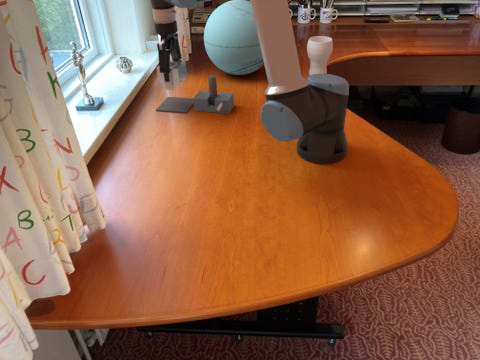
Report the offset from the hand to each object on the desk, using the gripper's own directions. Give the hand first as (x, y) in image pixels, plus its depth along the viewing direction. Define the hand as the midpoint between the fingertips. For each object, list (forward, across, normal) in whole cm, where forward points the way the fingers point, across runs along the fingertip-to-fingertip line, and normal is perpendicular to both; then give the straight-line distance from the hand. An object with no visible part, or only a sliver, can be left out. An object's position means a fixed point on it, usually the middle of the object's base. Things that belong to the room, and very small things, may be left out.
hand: (173, 84), depth 148 cm
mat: (+8, 0, 0) cm, 8 cm away
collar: (-2, 0, 0) cm, 2 cm away
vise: (+8, -2, -15) cm, 17 cm away
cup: (+8, +40, -50) cm, 65 cm away
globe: (+8, +37, -16) cm, 42 cm away
